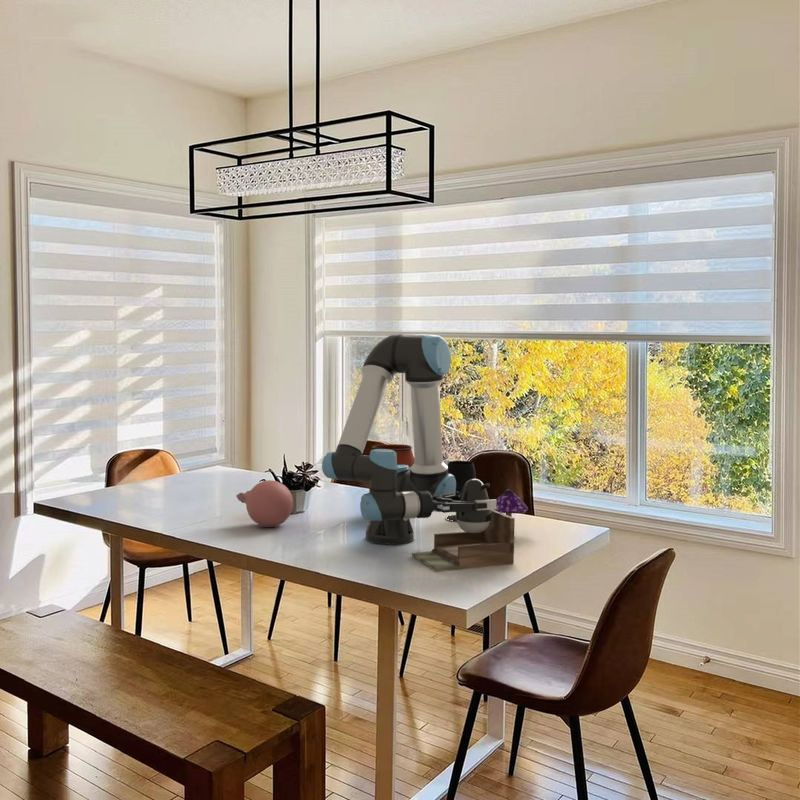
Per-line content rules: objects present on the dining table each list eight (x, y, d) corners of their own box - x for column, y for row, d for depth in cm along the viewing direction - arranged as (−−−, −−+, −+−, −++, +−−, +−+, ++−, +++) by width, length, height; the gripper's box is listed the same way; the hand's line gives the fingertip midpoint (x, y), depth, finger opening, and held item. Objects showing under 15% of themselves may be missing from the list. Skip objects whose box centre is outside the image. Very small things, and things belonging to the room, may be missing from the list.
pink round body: (249, 518, 294) (249, 474, 293) (301, 523, 287) (301, 478, 286) (225, 527, 280) (225, 481, 278) (279, 533, 273) (279, 486, 272)
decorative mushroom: (529, 532, 279) (530, 487, 278) (525, 541, 267) (526, 494, 266) (492, 529, 282) (493, 485, 281) (485, 538, 270) (486, 491, 269)
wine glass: (465, 523, 291) (466, 465, 289) (439, 519, 296) (440, 463, 295) (480, 518, 299) (481, 462, 298) (454, 514, 305) (455, 459, 303)
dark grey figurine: (476, 536, 237) (478, 482, 236) (448, 530, 244) (449, 478, 243) (498, 531, 244) (500, 479, 243) (470, 525, 251) (471, 474, 250)
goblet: (422, 511, 309) (423, 443, 307) (410, 523, 290) (411, 450, 288) (371, 508, 313) (372, 441, 311) (357, 519, 295) (357, 448, 293)
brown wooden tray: (412, 556, 247) (412, 512, 246) (485, 549, 256) (486, 506, 255) (436, 571, 231) (437, 524, 230) (513, 563, 240) (514, 518, 239)
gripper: (401, 510, 248) (471, 506, 256) (430, 526, 227) (505, 521, 235) (402, 485, 247) (471, 482, 255) (430, 498, 227) (506, 494, 235)
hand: (487, 501), depth 245 cm, fingers closed on dark grey figurine, 9 cm apart
